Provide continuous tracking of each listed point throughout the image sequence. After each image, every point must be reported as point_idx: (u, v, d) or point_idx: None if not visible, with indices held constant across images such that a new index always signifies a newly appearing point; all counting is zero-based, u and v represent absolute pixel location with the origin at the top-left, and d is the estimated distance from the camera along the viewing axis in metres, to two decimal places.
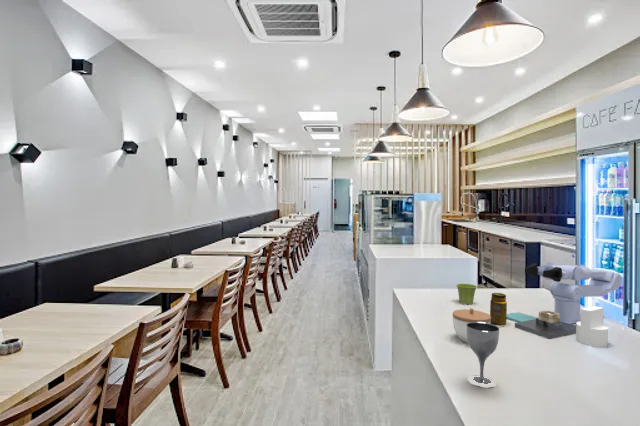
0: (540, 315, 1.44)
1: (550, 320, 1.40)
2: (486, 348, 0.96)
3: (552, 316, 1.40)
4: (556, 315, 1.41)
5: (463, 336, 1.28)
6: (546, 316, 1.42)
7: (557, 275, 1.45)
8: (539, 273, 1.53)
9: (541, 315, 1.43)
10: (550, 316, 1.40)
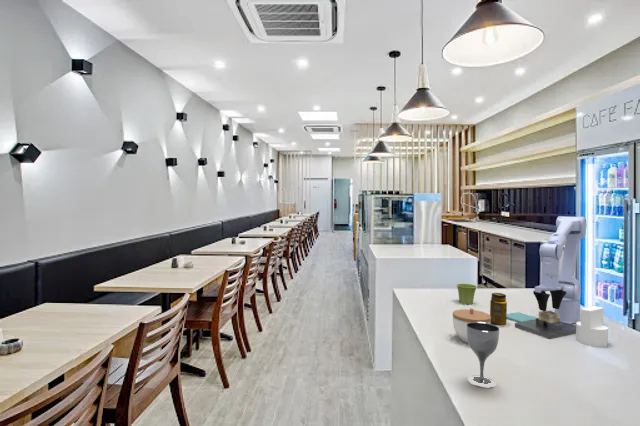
0: (540, 315, 1.44)
1: (550, 320, 1.40)
2: (486, 348, 0.96)
3: (552, 316, 1.40)
4: (556, 315, 1.41)
5: (463, 336, 1.28)
6: (546, 316, 1.42)
7: None
8: None
9: (541, 315, 1.43)
10: (550, 316, 1.40)
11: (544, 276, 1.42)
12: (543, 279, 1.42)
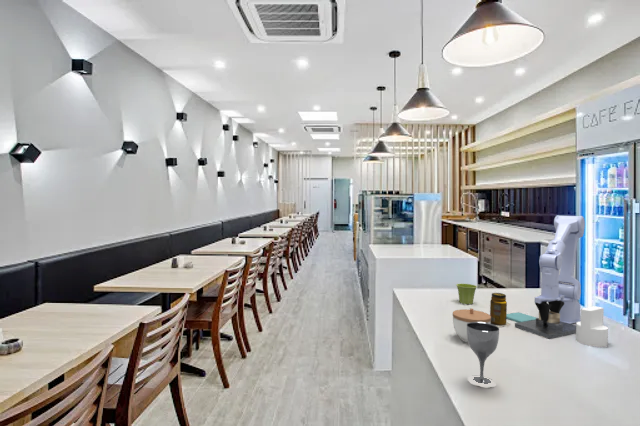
0: None
1: (550, 320, 1.40)
2: (486, 348, 0.96)
3: (552, 316, 1.40)
4: (556, 315, 1.41)
5: (463, 336, 1.28)
6: None
7: None
8: (540, 298, 1.43)
9: None
10: (550, 316, 1.40)
11: (544, 287, 1.42)
12: (543, 289, 1.43)
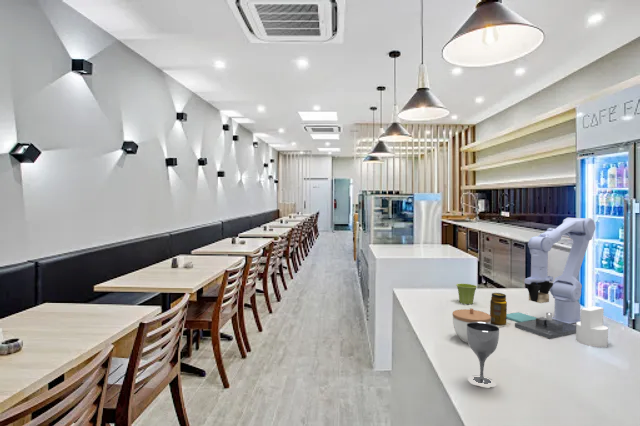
0: None
1: (540, 300, 1.45)
2: (486, 348, 0.96)
3: (541, 296, 1.45)
4: (545, 295, 1.46)
5: (463, 336, 1.28)
6: None
7: None
8: None
9: None
10: (540, 296, 1.45)
11: (533, 268, 1.47)
12: (532, 271, 1.47)
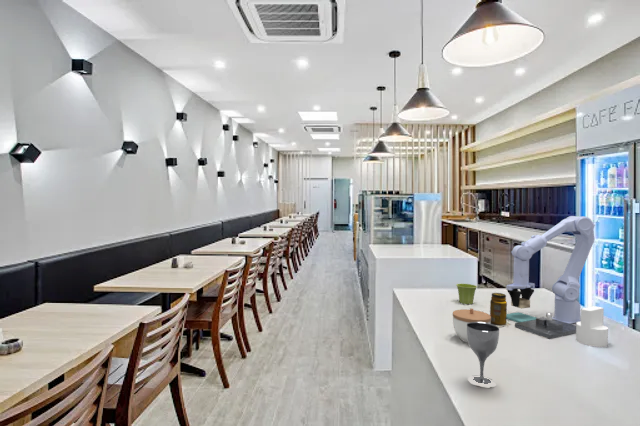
0: None
1: (521, 306, 1.54)
2: (486, 348, 0.96)
3: (522, 302, 1.54)
4: (526, 301, 1.54)
5: (463, 336, 1.28)
6: None
7: None
8: None
9: None
10: (521, 302, 1.54)
11: (515, 275, 1.56)
12: (514, 278, 1.56)
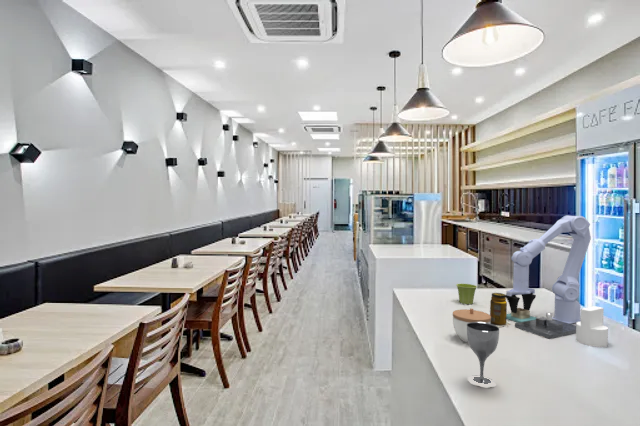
0: (512, 312, 1.57)
1: (520, 316, 1.54)
2: (486, 348, 0.96)
3: (522, 313, 1.54)
4: (526, 312, 1.55)
5: (463, 336, 1.28)
6: (517, 313, 1.55)
7: None
8: None
9: None
10: (520, 313, 1.54)
11: (515, 281, 1.56)
12: (514, 284, 1.56)
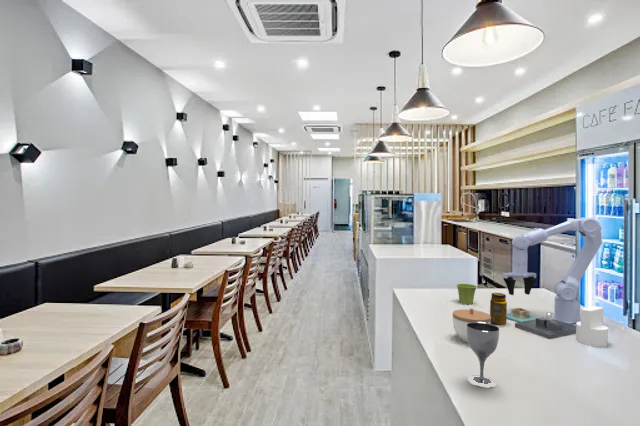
0: (512, 312, 1.57)
1: (520, 316, 1.54)
2: (486, 348, 0.96)
3: (522, 313, 1.54)
4: (526, 312, 1.55)
5: (463, 336, 1.28)
6: (517, 313, 1.55)
7: None
8: None
9: (513, 312, 1.57)
10: (520, 313, 1.54)
11: (513, 264, 1.60)
12: (512, 267, 1.61)
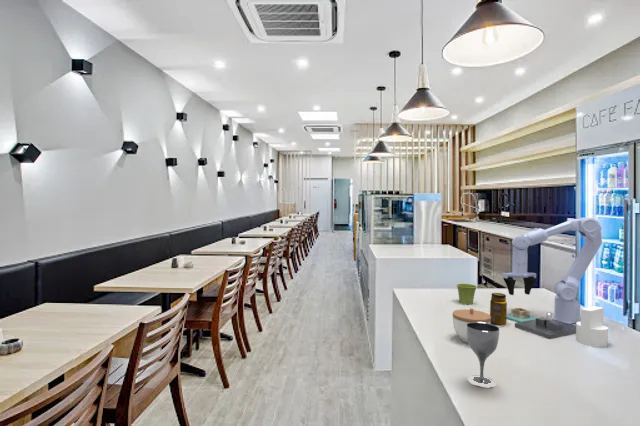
0: (512, 312, 1.57)
1: (520, 316, 1.54)
2: (486, 348, 0.96)
3: (522, 313, 1.54)
4: (526, 312, 1.55)
5: (463, 336, 1.28)
6: (517, 313, 1.55)
7: None
8: None
9: (513, 312, 1.57)
10: (520, 313, 1.54)
11: (513, 264, 1.60)
12: (512, 267, 1.61)
